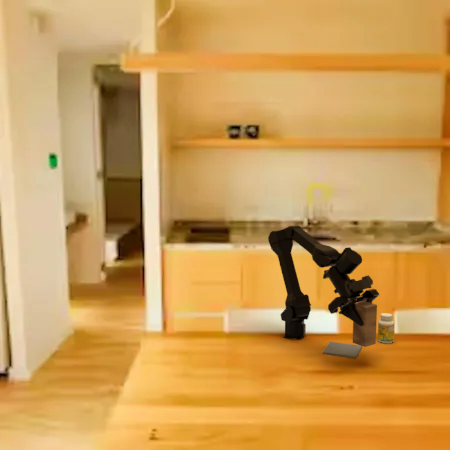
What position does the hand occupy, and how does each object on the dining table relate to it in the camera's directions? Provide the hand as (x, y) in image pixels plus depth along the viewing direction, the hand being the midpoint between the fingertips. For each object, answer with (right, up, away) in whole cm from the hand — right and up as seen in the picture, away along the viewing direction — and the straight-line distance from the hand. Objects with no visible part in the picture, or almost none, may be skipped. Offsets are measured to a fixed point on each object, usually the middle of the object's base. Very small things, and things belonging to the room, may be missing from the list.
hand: (368, 323), depth 182 cm
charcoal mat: (-5, -11, +15) cm, 20 cm away
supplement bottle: (+12, -10, +24) cm, 29 cm away
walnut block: (-1, -6, +2) cm, 7 cm away
